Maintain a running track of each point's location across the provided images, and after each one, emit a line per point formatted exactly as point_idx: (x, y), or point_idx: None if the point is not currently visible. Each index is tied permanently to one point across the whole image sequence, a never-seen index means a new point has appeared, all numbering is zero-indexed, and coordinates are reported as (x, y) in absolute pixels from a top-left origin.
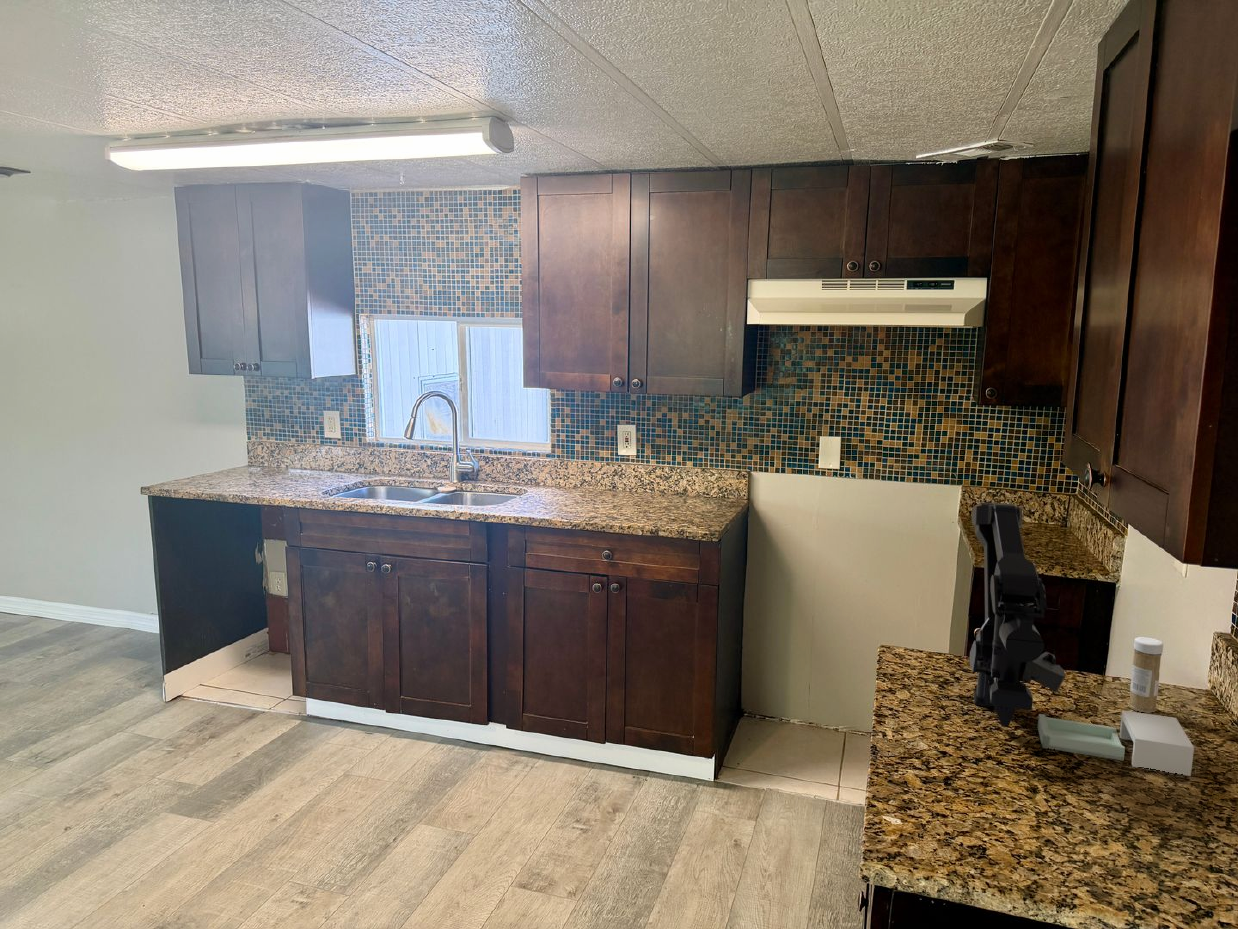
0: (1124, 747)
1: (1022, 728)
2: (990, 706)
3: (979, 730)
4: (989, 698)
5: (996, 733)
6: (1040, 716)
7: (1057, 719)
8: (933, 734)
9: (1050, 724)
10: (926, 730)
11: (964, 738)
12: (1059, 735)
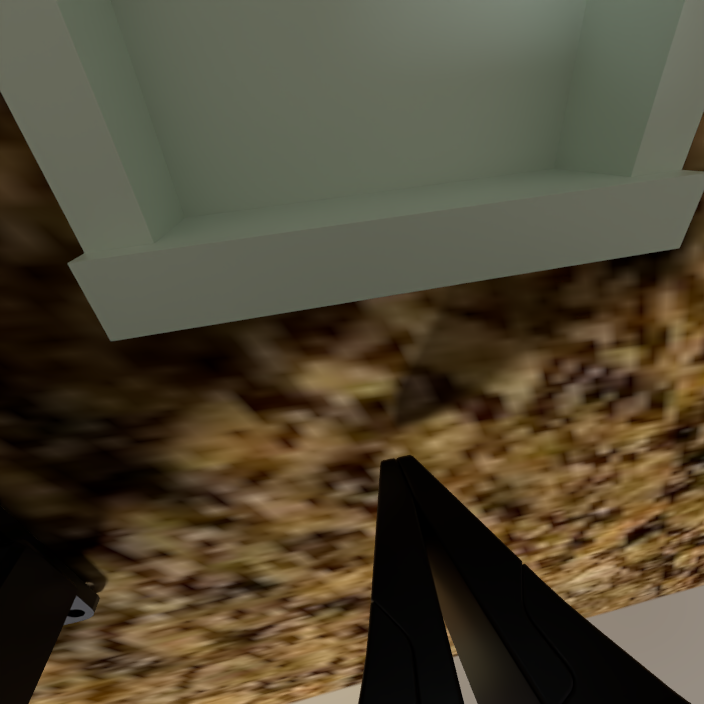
0: None
1: (264, 369)
2: (55, 562)
3: None
4: (45, 636)
5: (421, 461)
6: (195, 316)
7: (4, 29)
8: None
9: (144, 158)
10: None
11: (517, 526)
12: (322, 31)
